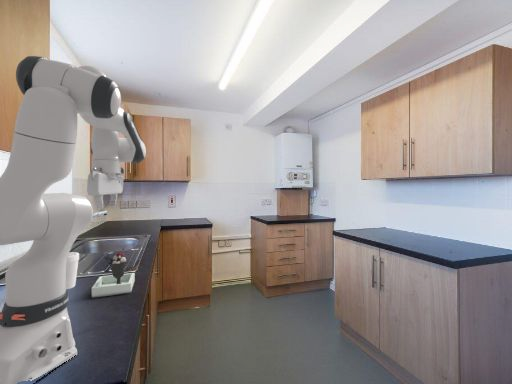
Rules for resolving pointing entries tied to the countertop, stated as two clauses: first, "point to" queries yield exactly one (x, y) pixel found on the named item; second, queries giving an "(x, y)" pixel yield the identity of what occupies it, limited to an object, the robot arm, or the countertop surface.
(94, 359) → the countertop surface
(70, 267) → the foam cup
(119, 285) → the bin
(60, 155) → the robot arm
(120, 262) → the sundae
